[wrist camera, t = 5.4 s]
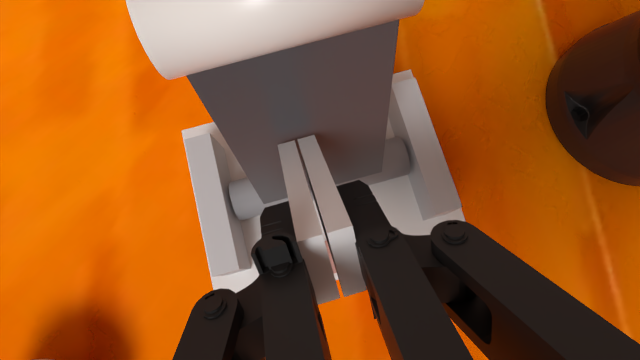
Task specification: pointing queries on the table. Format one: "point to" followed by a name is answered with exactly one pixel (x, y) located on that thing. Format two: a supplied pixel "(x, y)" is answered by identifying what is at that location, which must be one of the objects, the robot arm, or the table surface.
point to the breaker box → (392, 195)
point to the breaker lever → (286, 82)
